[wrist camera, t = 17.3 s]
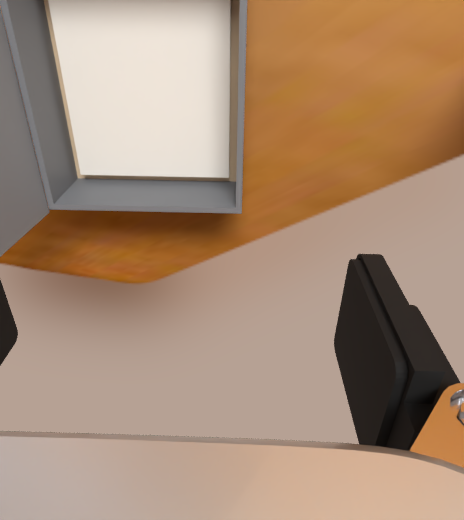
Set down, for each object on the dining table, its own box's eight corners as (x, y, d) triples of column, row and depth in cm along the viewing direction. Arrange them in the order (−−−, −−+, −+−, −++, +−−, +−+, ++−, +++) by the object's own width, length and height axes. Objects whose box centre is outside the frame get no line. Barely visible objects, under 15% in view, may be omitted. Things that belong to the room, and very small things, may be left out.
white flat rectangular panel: (231, -50, 38) (230, -51, 37) (229, 174, 49) (228, 177, 48) (43, -52, 38) (37, -54, 37) (84, 171, 49) (80, 174, 48)
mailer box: (248, -70, 37) (249, -85, 30) (241, 184, 50) (241, 213, 43) (25, -73, 38) (-23, -89, 31) (75, 181, 50) (49, 209, 43)
